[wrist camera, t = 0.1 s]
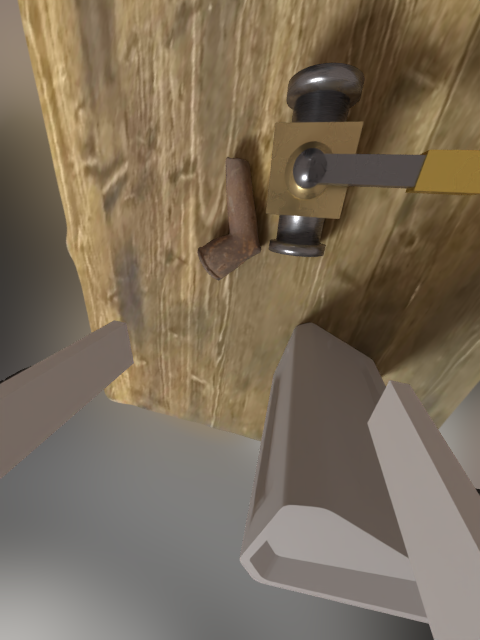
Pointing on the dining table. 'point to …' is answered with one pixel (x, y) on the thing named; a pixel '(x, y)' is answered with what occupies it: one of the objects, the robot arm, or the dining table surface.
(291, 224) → the valve body
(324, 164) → the lever
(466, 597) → the robot arm
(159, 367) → the dining table surface
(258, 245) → the pipe
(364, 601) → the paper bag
